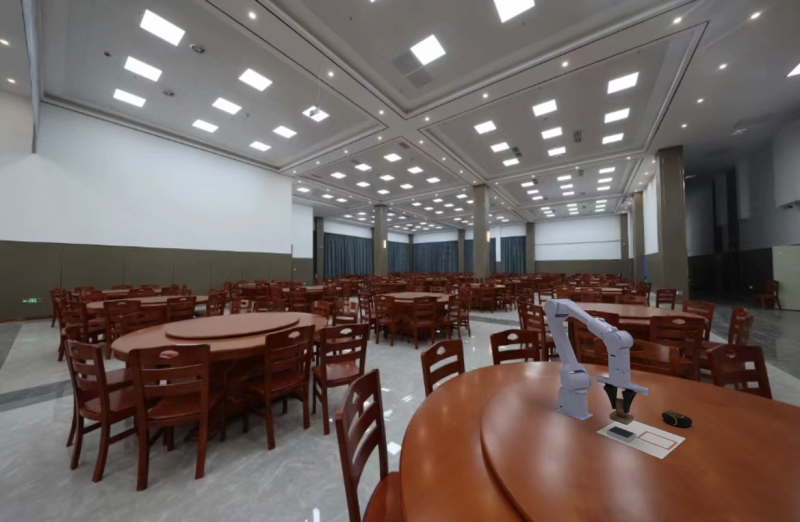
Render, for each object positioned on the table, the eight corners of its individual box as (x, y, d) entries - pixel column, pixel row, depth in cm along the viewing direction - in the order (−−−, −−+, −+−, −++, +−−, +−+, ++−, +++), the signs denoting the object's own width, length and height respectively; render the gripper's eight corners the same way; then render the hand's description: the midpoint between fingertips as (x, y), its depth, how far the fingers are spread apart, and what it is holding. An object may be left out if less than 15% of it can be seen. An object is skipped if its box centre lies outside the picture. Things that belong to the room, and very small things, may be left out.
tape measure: (693, 428, 102) (693, 417, 102) (680, 431, 100) (680, 419, 100) (670, 419, 108) (670, 408, 108) (658, 421, 106) (657, 411, 106)
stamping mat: (596, 433, 97) (595, 427, 97) (623, 417, 108) (623, 413, 108) (661, 460, 83) (661, 454, 83) (685, 439, 94) (685, 434, 94)
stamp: (609, 419, 96) (608, 399, 96) (616, 414, 99) (614, 395, 99) (627, 425, 92) (626, 405, 92) (633, 420, 95) (632, 400, 95)
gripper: (651, 372, 92) (653, 416, 91) (600, 361, 105) (601, 399, 104) (642, 375, 89) (644, 422, 88) (590, 363, 101) (591, 404, 100)
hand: (620, 410), depth 95 cm, fingers closed on stamp, 3 cm apart
